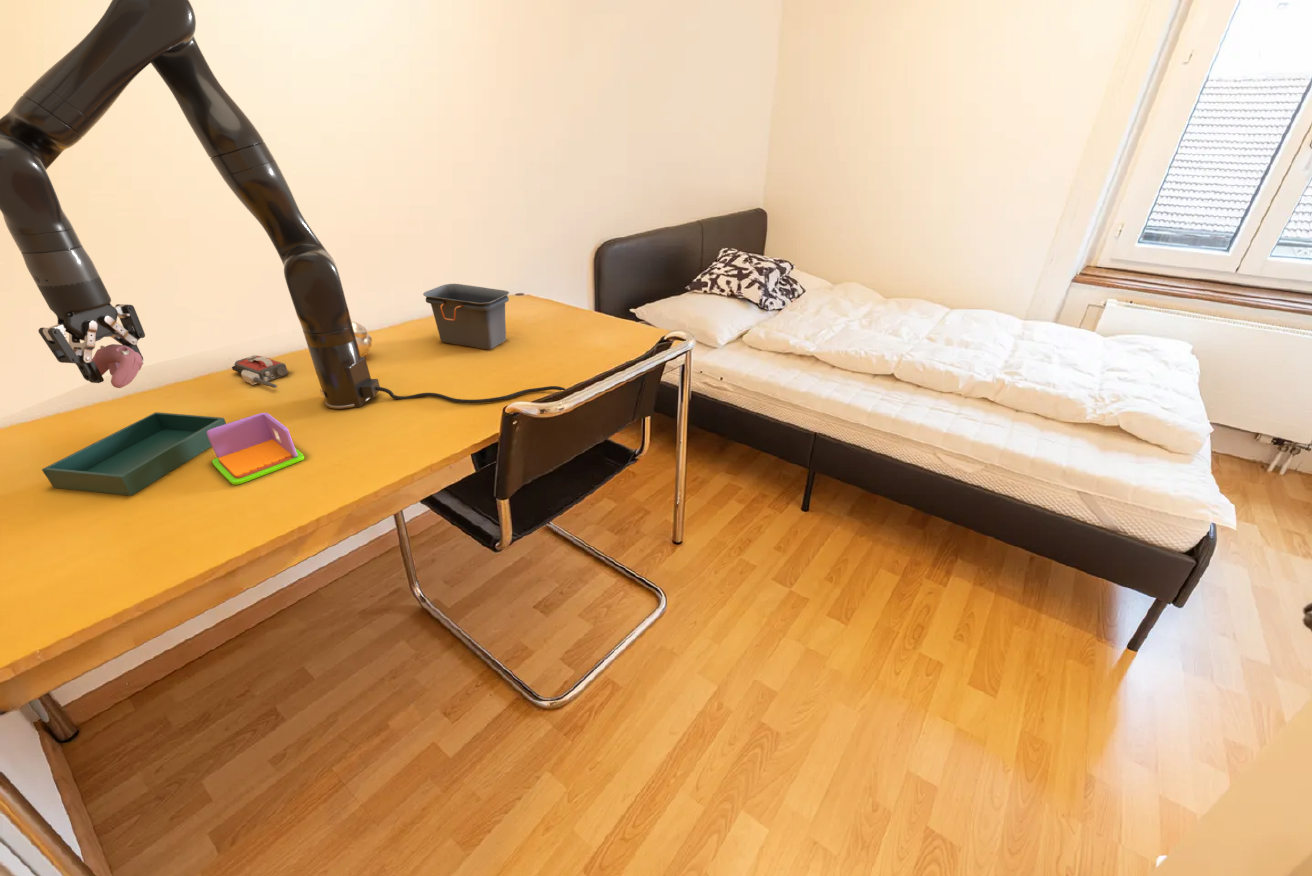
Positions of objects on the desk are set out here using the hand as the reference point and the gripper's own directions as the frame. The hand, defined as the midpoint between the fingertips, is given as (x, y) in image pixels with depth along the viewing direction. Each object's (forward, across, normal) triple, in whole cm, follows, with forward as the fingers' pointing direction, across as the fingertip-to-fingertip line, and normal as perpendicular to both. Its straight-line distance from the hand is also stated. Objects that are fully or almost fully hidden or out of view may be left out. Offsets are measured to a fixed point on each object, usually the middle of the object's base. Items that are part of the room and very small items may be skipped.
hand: (117, 373), depth 98 cm
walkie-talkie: (+17, +34, +5) cm, 39 cm away
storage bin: (+17, +65, -34) cm, 75 cm away
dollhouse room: (+17, 0, -20) cm, 26 cm away
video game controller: (+1, 0, 0) cm, 1 cm away
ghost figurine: (+17, +49, -9) cm, 53 cm away
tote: (+16, -2, 0) cm, 16 cm away
